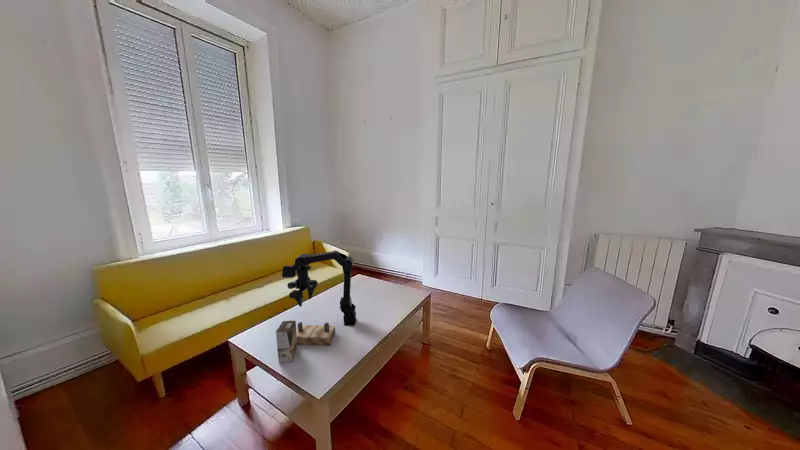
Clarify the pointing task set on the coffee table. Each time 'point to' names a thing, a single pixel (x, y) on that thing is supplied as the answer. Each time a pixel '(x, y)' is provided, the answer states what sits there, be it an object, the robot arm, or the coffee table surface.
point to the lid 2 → (323, 331)
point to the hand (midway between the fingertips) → (305, 302)
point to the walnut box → (316, 341)
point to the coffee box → (286, 341)
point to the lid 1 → (305, 330)
